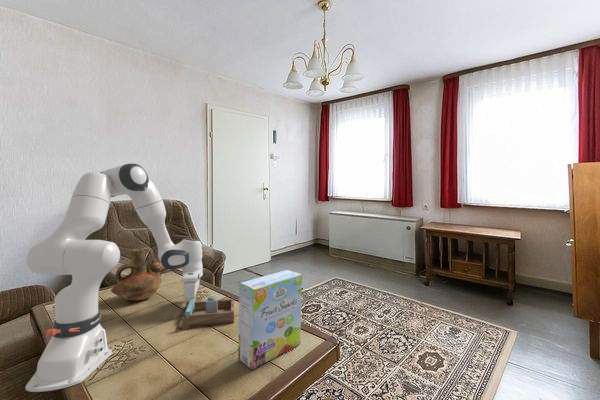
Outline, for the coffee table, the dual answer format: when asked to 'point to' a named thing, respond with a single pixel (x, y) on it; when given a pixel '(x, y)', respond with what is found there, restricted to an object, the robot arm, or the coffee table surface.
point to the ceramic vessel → (138, 278)
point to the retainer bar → (190, 308)
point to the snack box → (269, 317)
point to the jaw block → (212, 304)
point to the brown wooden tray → (208, 314)
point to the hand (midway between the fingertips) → (193, 301)
